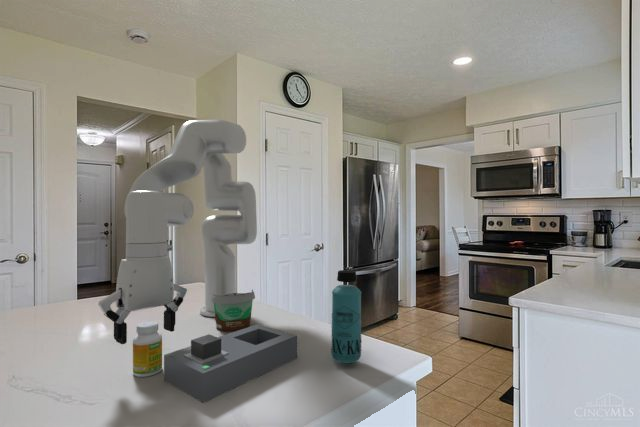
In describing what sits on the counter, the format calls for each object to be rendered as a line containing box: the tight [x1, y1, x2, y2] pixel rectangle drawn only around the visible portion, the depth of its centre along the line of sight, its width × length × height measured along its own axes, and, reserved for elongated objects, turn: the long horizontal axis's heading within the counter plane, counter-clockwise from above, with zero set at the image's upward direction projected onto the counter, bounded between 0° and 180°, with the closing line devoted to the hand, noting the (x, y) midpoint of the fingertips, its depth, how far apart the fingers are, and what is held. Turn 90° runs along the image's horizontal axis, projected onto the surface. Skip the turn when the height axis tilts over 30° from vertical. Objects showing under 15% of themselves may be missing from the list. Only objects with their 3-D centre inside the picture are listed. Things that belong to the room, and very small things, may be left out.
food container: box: [211, 289, 256, 333], centre depth 99 cm, size 12×6×10 cm, turn 117°
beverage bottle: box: [330, 269, 363, 364], centre depth 76 cm, size 6×7×20 cm
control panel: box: [163, 323, 298, 404], centre depth 74 cm, size 24×13×8 cm, turn 142°
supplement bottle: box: [132, 321, 163, 378], centre depth 73 cm, size 5×5×10 cm
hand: (146, 336), depth 72 cm, fingers open, 9 cm apart
